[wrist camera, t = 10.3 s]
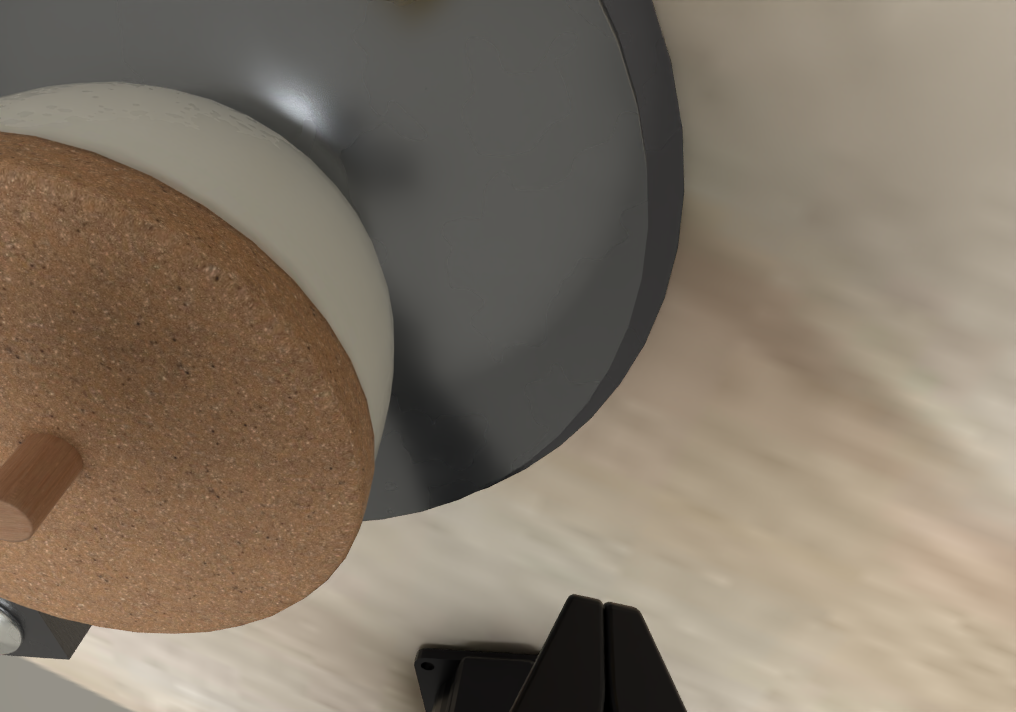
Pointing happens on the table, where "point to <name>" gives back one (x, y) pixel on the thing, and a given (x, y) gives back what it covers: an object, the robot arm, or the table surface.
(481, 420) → the turntable
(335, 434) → the lidded jar
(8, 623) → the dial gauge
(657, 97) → the turntable base
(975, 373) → the table surface
